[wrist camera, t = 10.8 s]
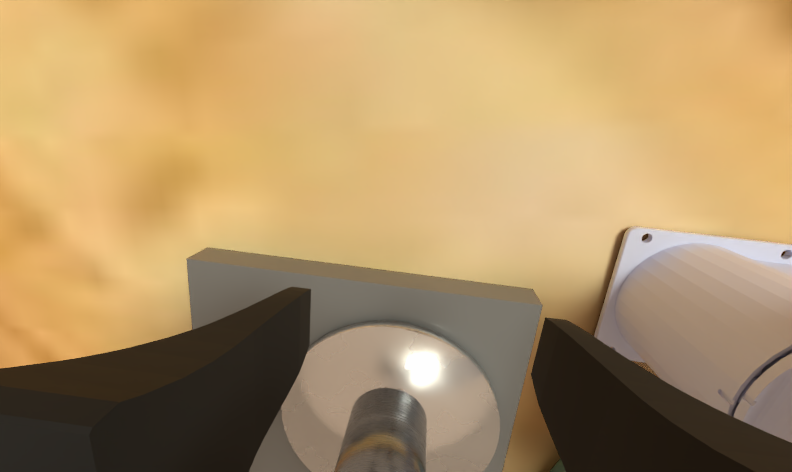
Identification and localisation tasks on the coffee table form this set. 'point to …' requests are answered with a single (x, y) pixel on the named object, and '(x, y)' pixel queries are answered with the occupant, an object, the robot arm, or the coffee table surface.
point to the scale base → (376, 300)
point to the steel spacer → (384, 434)
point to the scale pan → (399, 369)
